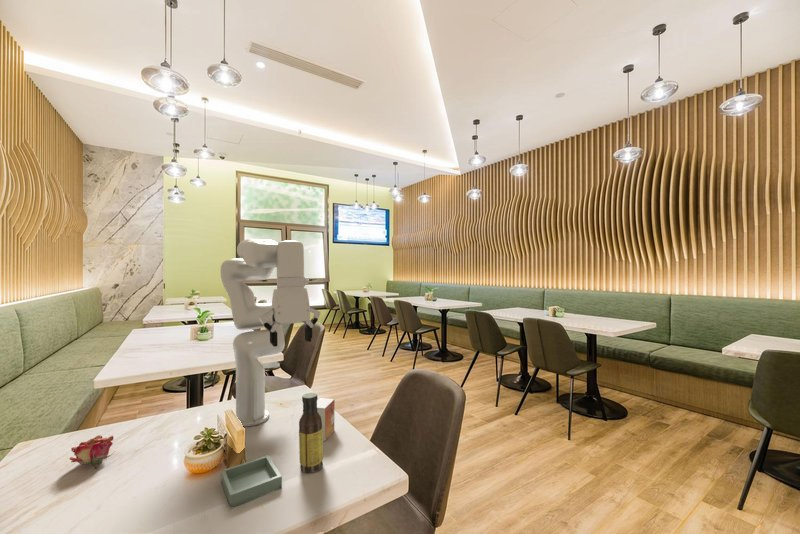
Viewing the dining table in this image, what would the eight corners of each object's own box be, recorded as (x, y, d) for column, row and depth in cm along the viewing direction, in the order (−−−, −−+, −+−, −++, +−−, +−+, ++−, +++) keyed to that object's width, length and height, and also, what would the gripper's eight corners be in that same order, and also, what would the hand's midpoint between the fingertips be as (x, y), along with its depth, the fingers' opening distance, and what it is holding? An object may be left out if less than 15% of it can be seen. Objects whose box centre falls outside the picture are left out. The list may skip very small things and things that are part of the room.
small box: (325, 442, 105) (325, 408, 105) (308, 440, 106) (308, 407, 106) (334, 429, 113) (335, 398, 113) (319, 428, 114) (319, 397, 114)
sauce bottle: (326, 462, 94) (326, 391, 94) (317, 476, 88) (317, 400, 88) (305, 459, 95) (305, 390, 95) (294, 473, 89) (294, 398, 89)
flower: (123, 456, 94) (120, 428, 97) (82, 467, 86) (80, 436, 89) (103, 470, 96) (100, 442, 99) (61, 482, 88) (60, 451, 91)
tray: (221, 482, 85) (221, 470, 85) (268, 466, 92) (268, 455, 92) (230, 508, 76) (230, 495, 76) (281, 488, 83) (281, 476, 83)
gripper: (314, 282, 105) (315, 337, 104) (255, 284, 94) (256, 345, 94) (324, 282, 99) (325, 341, 98) (262, 284, 88) (263, 350, 88)
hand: (291, 343), depth 96 cm, fingers open, 9 cm apart
